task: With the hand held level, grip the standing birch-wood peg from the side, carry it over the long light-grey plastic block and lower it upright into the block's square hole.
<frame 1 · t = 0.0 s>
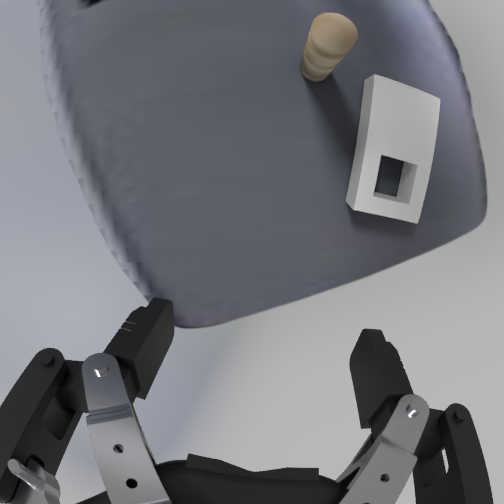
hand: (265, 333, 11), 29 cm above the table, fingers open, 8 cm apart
birch peg: (314, 68, 30), on the table
hole block: (389, 148, 33), on the table
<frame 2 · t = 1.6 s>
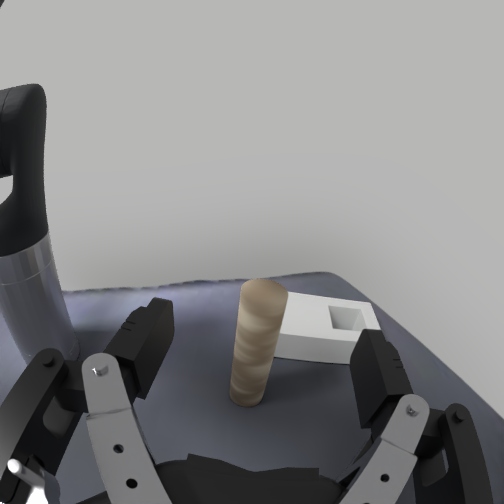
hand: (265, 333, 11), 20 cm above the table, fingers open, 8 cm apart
birch peg: (246, 393, 29), on the table
hole block: (314, 338, 40), on the table
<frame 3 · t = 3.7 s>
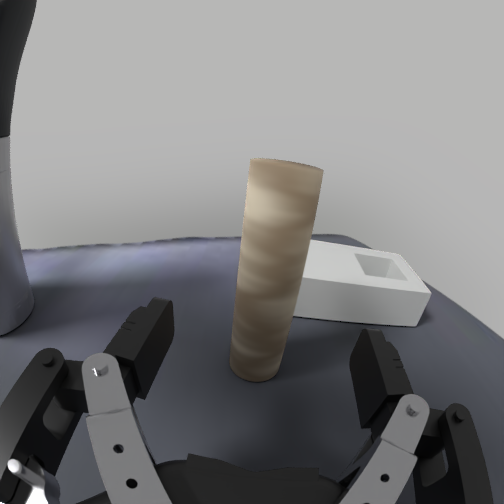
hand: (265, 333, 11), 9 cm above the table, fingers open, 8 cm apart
birch peg: (254, 362, 21), on the table
hole block: (338, 295, 31), on the table
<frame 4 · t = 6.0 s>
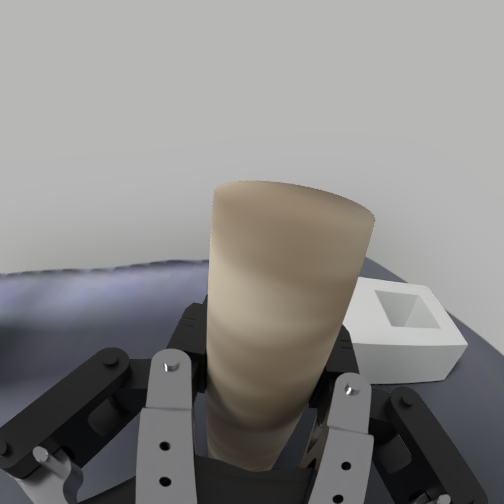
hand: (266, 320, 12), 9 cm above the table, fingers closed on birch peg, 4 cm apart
birch peg: (241, 455, 13), on the table, touching gripper
hole block: (353, 343, 23), on the table
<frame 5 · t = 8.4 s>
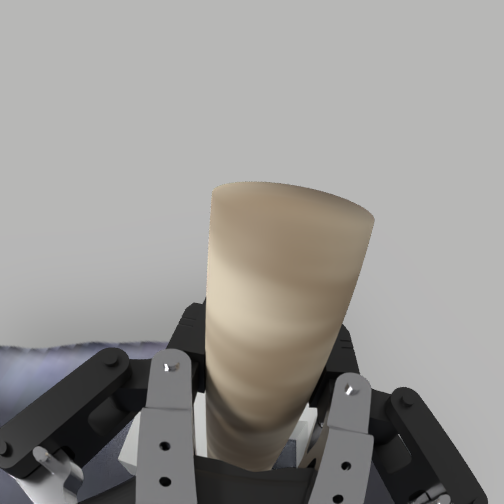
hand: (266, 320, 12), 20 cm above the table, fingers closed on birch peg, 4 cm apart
birch peg: (240, 456, 13), point 11 cm above the table, touching gripper
hole block: (229, 455, 21), on the table
when the fingers open (11 cm above the table, at t = 11.0 s): birch peg drops 2 cm, resting in hole block.
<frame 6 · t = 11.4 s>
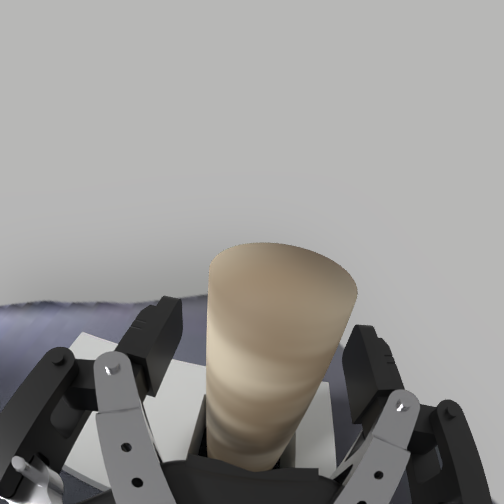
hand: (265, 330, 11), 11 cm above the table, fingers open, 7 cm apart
birch peg: (238, 466, 14), resting in hole block
hole block: (179, 453, 14), on the table
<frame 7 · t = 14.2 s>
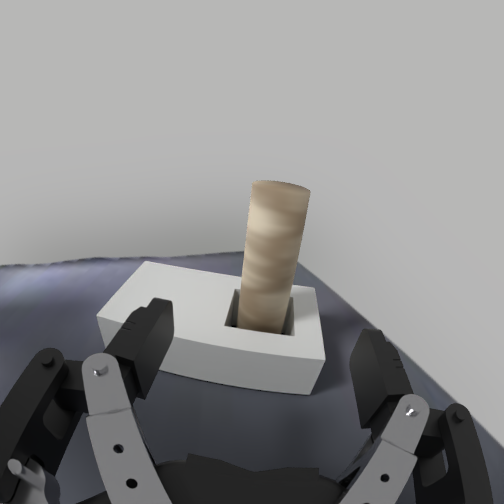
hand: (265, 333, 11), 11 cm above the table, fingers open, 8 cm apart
birch peg: (255, 348, 25), resting in hole block
hole block: (213, 340, 25), on the table
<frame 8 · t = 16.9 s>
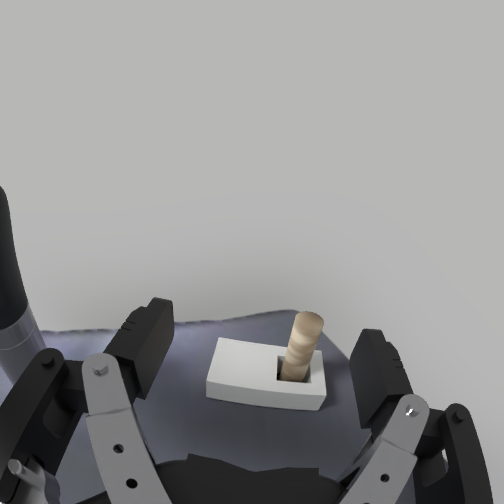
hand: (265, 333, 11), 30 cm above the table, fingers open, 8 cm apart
birch peg: (288, 386, 42), resting in hole block
hole block: (265, 382, 42), on the table
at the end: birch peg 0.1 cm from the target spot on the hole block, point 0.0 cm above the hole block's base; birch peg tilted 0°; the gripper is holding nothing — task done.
